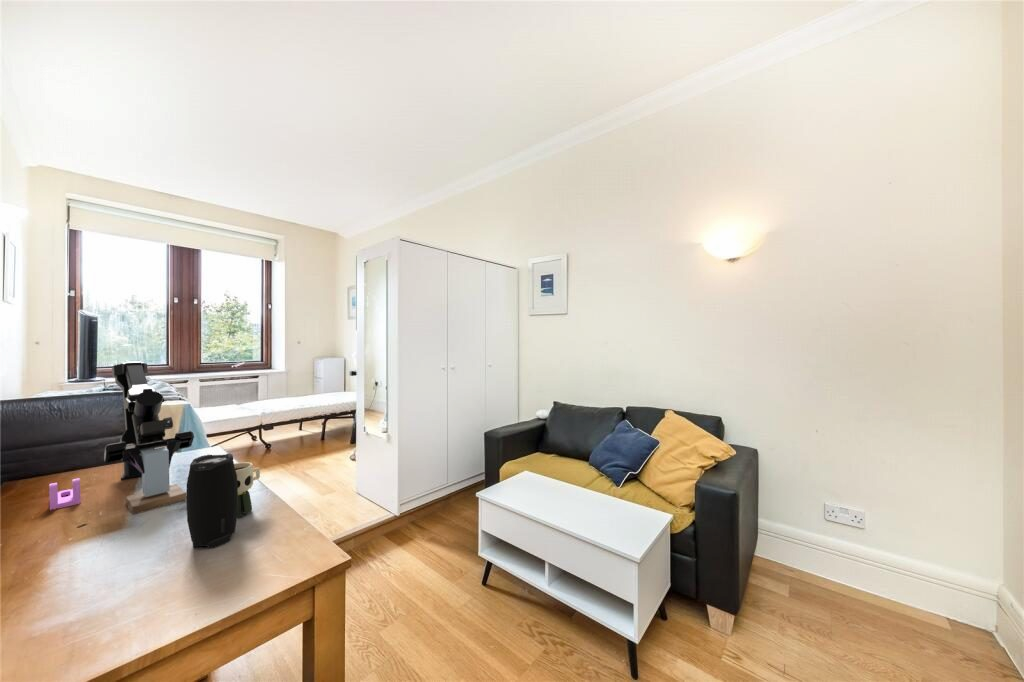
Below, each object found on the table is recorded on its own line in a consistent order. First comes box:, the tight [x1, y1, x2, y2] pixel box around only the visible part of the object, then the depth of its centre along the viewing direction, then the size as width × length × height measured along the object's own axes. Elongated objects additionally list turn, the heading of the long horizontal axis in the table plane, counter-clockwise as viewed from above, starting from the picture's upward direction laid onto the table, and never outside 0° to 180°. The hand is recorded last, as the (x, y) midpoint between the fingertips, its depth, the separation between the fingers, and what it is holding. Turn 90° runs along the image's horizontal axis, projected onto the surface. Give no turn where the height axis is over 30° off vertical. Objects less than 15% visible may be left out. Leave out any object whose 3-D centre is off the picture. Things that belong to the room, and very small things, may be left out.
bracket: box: [48, 477, 82, 511], centre depth 109 cm, size 13×6×7 cm, turn 50°
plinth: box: [125, 483, 186, 515], centre depth 108 cm, size 11×11×2 cm
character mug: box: [234, 461, 261, 518], centre depth 100 cm, size 11×7×13 cm, turn 146°
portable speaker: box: [185, 453, 238, 549], centre depth 87 cm, size 9×9×20 cm
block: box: [141, 446, 171, 497], centre depth 108 cm, size 5×5×12 cm
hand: (156, 470), depth 107 cm, fingers closed on block, 5 cm apart
